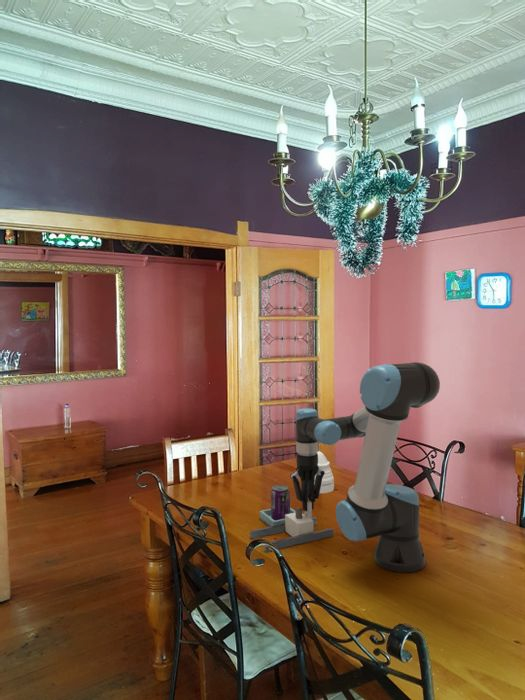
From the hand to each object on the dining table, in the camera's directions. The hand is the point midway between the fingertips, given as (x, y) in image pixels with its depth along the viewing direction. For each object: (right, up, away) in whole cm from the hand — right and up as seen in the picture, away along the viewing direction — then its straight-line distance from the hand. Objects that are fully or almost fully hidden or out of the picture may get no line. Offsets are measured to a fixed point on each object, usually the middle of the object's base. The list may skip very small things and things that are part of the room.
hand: (308, 519), depth 180 cm
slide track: (-6, -5, -3) cm, 8 cm away
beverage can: (-9, -4, +11) cm, 15 cm away
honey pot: (+9, -2, +47) cm, 48 cm away
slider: (-3, -5, -1) cm, 6 cm away
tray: (-9, -5, +11) cm, 15 cm away
